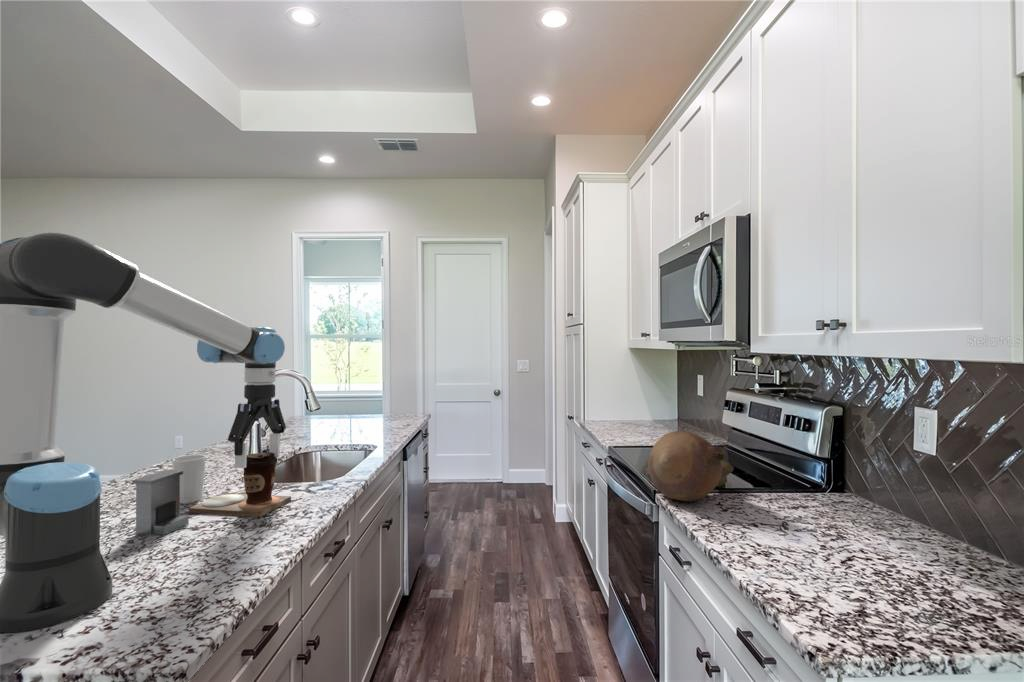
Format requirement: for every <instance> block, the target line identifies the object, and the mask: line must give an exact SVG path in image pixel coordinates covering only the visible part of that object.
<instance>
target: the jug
mask: <svg viewBox="0 0 1024 682" xmlns="http://www.w3.org/2000/svg"><path fill="white" fill-rule="evenodd" d="M652 446H653V447H652V448H651V451H650V454H649V456H648V457H649V458H648V463H647V466H648V467H645V475H646V477H649V478H650V479H651V481H652V483H653V485H654V486H655V488H656V489H657V491H659V492H660V493H661V494H662V495H664V496H665V497H667V498H669V499H671V500H676V501H680V502H681V501H682V502H695V501H699V500H701V499H703V498H705V497H707V496H708V495H710V493H711V492H712V491H714V490H715V488H716V487H720V486H723V485H724V484H727V483H728V475H730V474H731V473H732V472H733V471H734V469H735V467H734V466H733V465H732V464H731V463H729V462H728V461H726V460H724V459H725V457H726V453H725V450H724V448H723V447H721V446H713V445H712V443H710V441H708V440H707V439H705V438H704V437H702V436H700V435H699V434H696V433H694V432H691V431H686V430H673V431H670V432H667V433H665V434H664V435H663V436H661V437H660V438H659V439H658V440H657V441H656V442H655V443H654V445H652Z"/></svg>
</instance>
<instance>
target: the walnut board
mask: <svg viewBox="0 0 1024 682" xmlns="http://www.w3.org/2000/svg"><path fill="white" fill-rule="evenodd" d="M271 497H272V499H273V500H272V501H271V502H269V503H265V504H258V505H250V504H247V503H246V500H247V494H246V493H234V492H233V493H232V492H224V493H221V494H219V495H215V496H213V497H209V498H207V499H204V500H203V502H199V503H198V504H194V505H193V506H190V507H188V510H187V511H188V513H189V514H205V515H223V516H239V517H241V516H242V517H257V518H261V517H263V516H266V515H267V514H269V513H271V512H272V511H274V510H276V509H278V508H280V507H282V506H283V505H286V504H287V503H289V502H291V501H292V496H291V495H290V496H289V495H273V494H271Z"/></svg>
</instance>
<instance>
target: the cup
mask: <svg viewBox="0 0 1024 682" xmlns="http://www.w3.org/2000/svg"><path fill="white" fill-rule="evenodd" d="M206 457H207V456H206V455H205V454H188V455H181V456H177V457H174V458H173V459H172V469H173V471H183V474H182V475H180V504H189V503H194V502H197V501H200V500H202V499H203V490H204V488H203V487H204V479H205V470H206V469H205V468H206V460H207V459H206Z"/></svg>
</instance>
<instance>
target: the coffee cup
mask: <svg viewBox="0 0 1024 682" xmlns="http://www.w3.org/2000/svg"><path fill="white" fill-rule="evenodd" d="M278 460H279V459H278V457H275V454H274V453H270V452H269V451H268V452H258V453H249V454H247V462H246V468H243V482H244V492H245V494H247V500H246V503H247V504H250V505H258V504H265V503H269V502H271V501H272V500H273V499H272V497H271V495H273V489H274V486H275V481H276V480H275V479H276V467H277V463H278Z"/></svg>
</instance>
